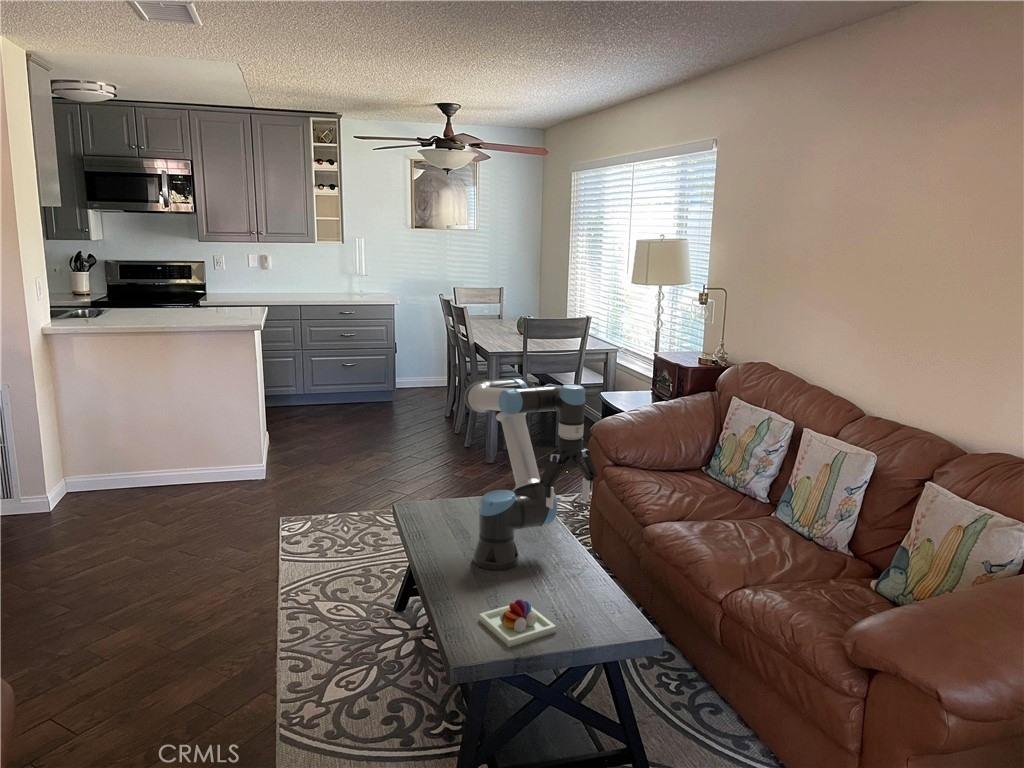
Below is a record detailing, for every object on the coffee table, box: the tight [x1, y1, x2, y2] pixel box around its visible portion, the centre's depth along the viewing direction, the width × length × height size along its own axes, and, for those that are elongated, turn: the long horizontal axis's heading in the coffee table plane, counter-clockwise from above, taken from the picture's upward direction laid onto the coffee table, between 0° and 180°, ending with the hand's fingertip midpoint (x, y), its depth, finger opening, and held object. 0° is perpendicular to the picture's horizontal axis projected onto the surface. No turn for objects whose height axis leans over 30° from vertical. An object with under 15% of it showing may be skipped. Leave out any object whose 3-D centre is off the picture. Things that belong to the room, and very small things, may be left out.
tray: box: [478, 604, 557, 648], centre depth 202 cm, size 16×15×2 cm
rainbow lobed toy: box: [500, 598, 537, 632], centre depth 201 cm, size 8×10×7 cm
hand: (567, 503), depth 222 cm, fingers open, 13 cm apart
